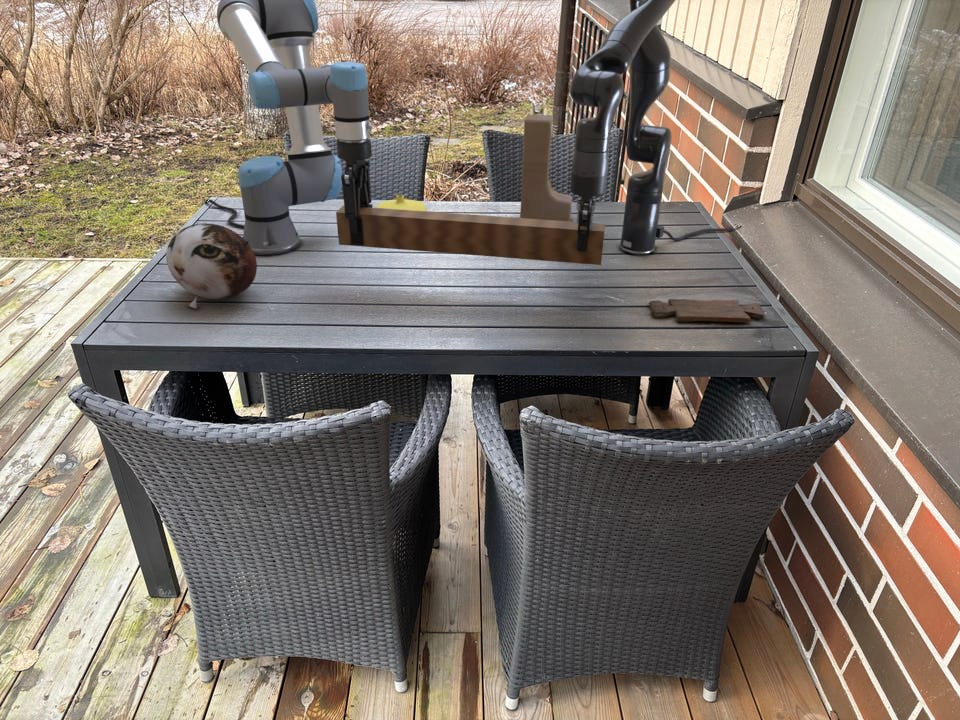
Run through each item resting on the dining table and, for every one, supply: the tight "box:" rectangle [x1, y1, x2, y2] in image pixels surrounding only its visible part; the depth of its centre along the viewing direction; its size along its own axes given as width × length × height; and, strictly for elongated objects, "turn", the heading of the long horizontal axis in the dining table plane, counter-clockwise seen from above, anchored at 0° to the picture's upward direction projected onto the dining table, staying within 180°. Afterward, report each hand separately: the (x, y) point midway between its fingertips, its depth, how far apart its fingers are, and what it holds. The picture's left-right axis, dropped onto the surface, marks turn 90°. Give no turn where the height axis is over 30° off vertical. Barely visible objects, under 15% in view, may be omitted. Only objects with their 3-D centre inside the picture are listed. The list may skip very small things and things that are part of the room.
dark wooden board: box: [648, 298, 765, 323], centre depth 164 cm, size 26×2×10 cm
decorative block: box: [519, 114, 573, 222], centre depth 210 cm, size 8×15×30 cm, turn 82°
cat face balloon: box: [165, 222, 258, 309], centre depth 165 cm, size 22×18×20 cm
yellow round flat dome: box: [375, 194, 428, 212], centre depth 214 cm, size 16×16×7 cm
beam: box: [335, 205, 606, 266], centre depth 163 cm, size 61×5×8 cm, turn 80°
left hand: (361, 239), depth 168 cm, fingers closed on beam, 5 cm apart
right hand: (582, 245), depth 160 cm, fingers closed on beam, 5 cm apart
